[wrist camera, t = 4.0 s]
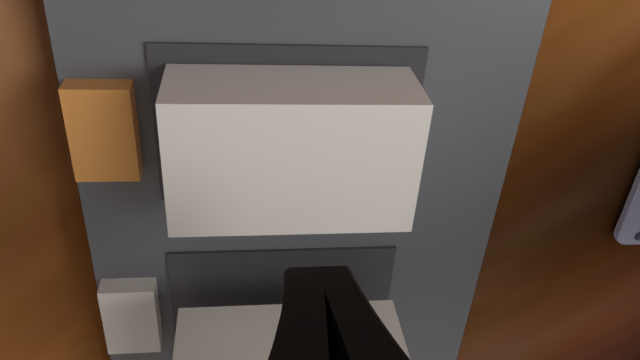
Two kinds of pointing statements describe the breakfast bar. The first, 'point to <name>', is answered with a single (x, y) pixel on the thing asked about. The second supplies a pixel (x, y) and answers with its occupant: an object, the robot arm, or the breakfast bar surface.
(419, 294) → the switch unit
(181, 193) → the button
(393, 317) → the button
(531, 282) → the breakfast bar surface
